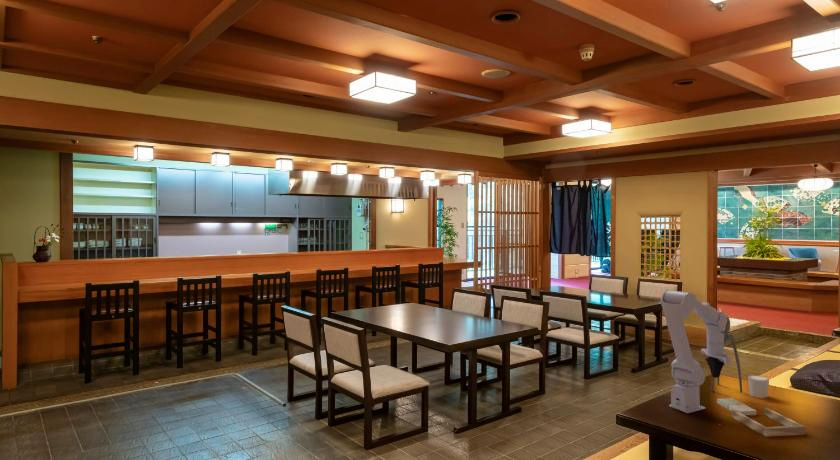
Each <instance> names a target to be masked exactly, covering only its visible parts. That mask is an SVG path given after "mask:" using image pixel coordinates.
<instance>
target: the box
mask: <svg viewBox="0 0 840 460" xmlns="http://www.w3.org/2000/svg"><path fill="white" fill-rule="evenodd" d="M763 415H764V416H765V415H766V417H767V416H768V417H767V418H769V419H771V420H773V421H775V422H777V423H779V424H780V425H779V426H767V427H766V425H763V424H762V423H760V422H757V421H756V420H754V419H752V418H750V417H749V416H745V415H743V414H741V413H740V412H738V411H736V410H731V411H730V417H731V418H732V417H733V419H734V420H736V421H737V422H739V423H741V424H743V425H744V426H747V428H748V427H749V428H750V429H752V430H753V431H755V432H757V433H759V434H760V435H762V436H764V437H765V438H766V437H769V438H770V437H781V436H782V437H783V436H785V437H786V436H799V435H800V436H801V435H806V434H807V433H806V432H807V431H806V426H805V425H803V424H801V423H799V422H797V421H795V420H793V419H791V418H789V417H788V416H785V415H782V413H779V412H777V411H774V410H773V409H770V408H769V407H764V408H763ZM781 425H782V426H781Z"/></svg>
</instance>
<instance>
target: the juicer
mask: <svg viewBox="0 0 840 460" xmlns="http://www.w3.org/2000/svg"><path fill="white" fill-rule="evenodd" d="M726 317H727V323H726V326H725V331H724V347H725V346H726V343H727V341H729V340H730V343H731V345H732V349H733V353H734V354H733V355H734V357H735V363H736V368H737V374H738V383H739V392H740V393H742V394H743V381H742V369H741V364H740V358H739V354H738V349H737V345H736V341H735V339H734V336H733V334H730V330H731V320H730V318H729V317H728V316H727V315H726ZM716 383H717V385H720V376H719V377H718V378H716ZM710 385H711V388H710V389H711V390H710V391H711V392H714V389H715V378H714V377H712V376H711V384H710Z"/></svg>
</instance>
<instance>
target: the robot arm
mask: <svg viewBox="0 0 840 460" xmlns="http://www.w3.org/2000/svg"><path fill="white" fill-rule="evenodd" d="M659 301H660V305H661V308H662V312H663V314H664V316H665V317H664V318H665V321H666V322H665V323H666V325H667V330H668V332H669V337H670V340H671V345H672V347H673V351H674V355H675V359H673V361H671V364H670V366H671V376H672V378H673V379H674V381H675V383H676V384H675V385H674V386H672V388H671V389H670V404H668V406H669V407H670V408H672V409H676V410H678V411H681V412H683V413H686V414H690V413H695V412H698V411H701V410H705V409H706V407H705V406H702V405H700V398H701V397H700V386H702V385H703V384H704V382H705V380H706V374H705V370H704V369H703V368H702V365H701V363H700V362H699V361H698V360H696V359H695V358H694V357H693V354H692V351H691V347H690V342H689V339H688V335H687V332H686V327H685V324H684V320H685V319H688V318H689V316H690V315H691V312H692V311H694V314H696V316H697V317H698V318H700V319H702V321H703V324H704V325H706V348H701V350H700V351H701V352H700V354H702V355H706V356H707V357H705V360H704V361H706V363H707V365H708V367H709V369H710V370H709V371H710V373H711V378H712V377H714V379H717V378H718V377H719V378H720V376H721V373H722V369H723V368H724V366H725V364H726V365H727V364H731V363H732V362H731V361H732V360H731V357H729V356H727V353H726V352H725V346H724V331H725V326H726V323H727V317H728V316H727V315H726V314H725V313H724V312H723V311H718V310H717V309H716V308H715V307H712V305H711V303H709V302H701V301H700V300H699V299H698V298H697V297H696V294H695V293H693V292H691V291H689V292H687V291H678V290H672V289H671V290H670V289H665V290H664V291H663V293H662V294H661V298H660V300H659ZM726 316H727V317H726Z"/></svg>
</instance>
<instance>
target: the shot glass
mask: <svg viewBox="0 0 840 460" xmlns="http://www.w3.org/2000/svg"><path fill="white" fill-rule="evenodd" d="M747 380H748V388H749V395H750V396H751V397H753V396H755V397H754V398H756V397H767V396H768V394H769V385H770V384H769V383H770V379H769V378H768V377H766V376H762V375H748V376H747ZM767 398H768V397H767Z"/></svg>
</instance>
